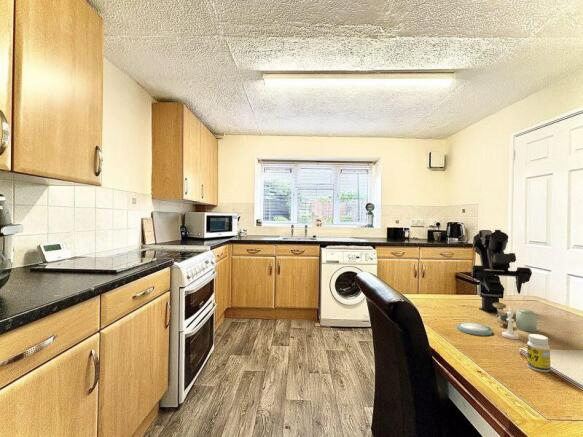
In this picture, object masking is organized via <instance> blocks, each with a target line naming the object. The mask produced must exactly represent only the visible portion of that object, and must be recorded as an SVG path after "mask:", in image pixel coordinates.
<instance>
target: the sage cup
mask: <svg viewBox="0 0 583 437" xmlns="http://www.w3.org/2000/svg"><path fill="white" fill-rule="evenodd" d="M537 322H538V320H537V313H536V312H534V311H533V310H531V309H524V308H520V309H518V310H515V323H516V324H515V327H516V329H517V330H520V331H524V332H531V333H534V332H535V333H536V332H537V330H538V326H537V324H538V323H537Z"/></svg>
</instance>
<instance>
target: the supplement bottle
mask: <svg viewBox="0 0 583 437" xmlns="http://www.w3.org/2000/svg"><path fill="white" fill-rule="evenodd" d="M526 350H527V351H526V353H527V356H526V357H527V362H526V363H527V364H526V365H527V367H528V368H530V369H531V370H534V371H537V372H541V373H549V372H550V371H551V346H550V345H549V338H548V337H547V336H545V335H542V334H538V333H530V334H528V341H527V343H526Z"/></svg>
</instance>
